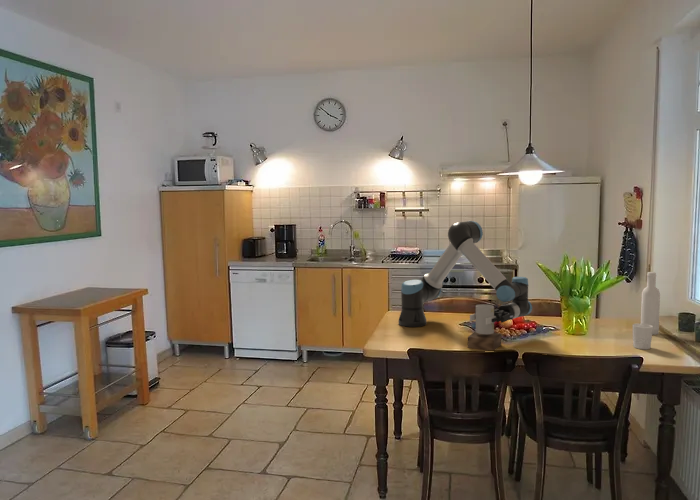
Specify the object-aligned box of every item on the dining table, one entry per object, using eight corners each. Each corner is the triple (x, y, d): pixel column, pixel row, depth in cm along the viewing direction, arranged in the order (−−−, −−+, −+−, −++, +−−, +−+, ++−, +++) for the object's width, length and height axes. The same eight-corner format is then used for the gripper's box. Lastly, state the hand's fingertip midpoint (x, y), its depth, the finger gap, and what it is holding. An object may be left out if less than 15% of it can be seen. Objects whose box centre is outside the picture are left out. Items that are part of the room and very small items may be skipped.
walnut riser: (467, 347, 238) (467, 336, 237) (476, 341, 248) (476, 330, 247) (493, 351, 232) (493, 340, 231) (501, 344, 242) (501, 333, 241)
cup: (494, 334, 234) (494, 308, 233) (476, 333, 236) (476, 307, 235) (493, 329, 242) (493, 304, 241) (475, 329, 244) (475, 304, 243)
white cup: (627, 345, 236) (628, 323, 235) (644, 344, 237) (645, 323, 236) (639, 350, 228) (639, 328, 227) (656, 349, 229) (656, 327, 228)
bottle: (643, 329, 262) (645, 270, 259) (660, 332, 256) (663, 272, 253) (637, 333, 256) (640, 272, 253) (655, 335, 251) (658, 274, 247)
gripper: (527, 323, 242) (497, 332, 228) (489, 315, 258) (460, 323, 244) (527, 307, 241) (497, 315, 227) (490, 301, 257) (460, 307, 243)
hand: (478, 319), depth 235 cm, fingers closed on cup, 8 cm apart
